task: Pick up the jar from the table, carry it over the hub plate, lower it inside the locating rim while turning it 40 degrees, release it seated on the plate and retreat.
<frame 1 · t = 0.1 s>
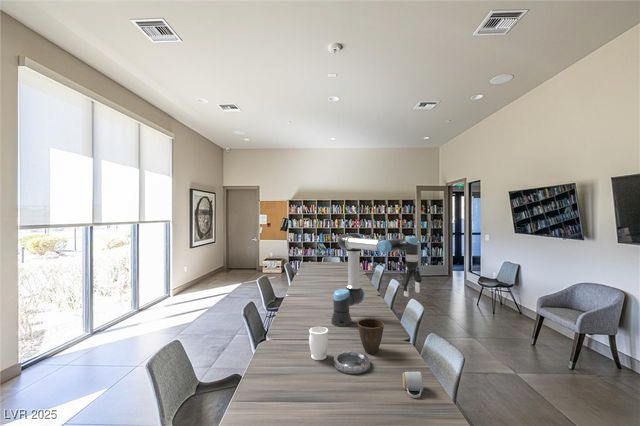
hand: (411, 294, 187), 28 cm above the table, fingers open, 13 cm apart
ceramic mug: (413, 391, 130), on the table
plant pot: (370, 351, 169), on the table
jar: (318, 357, 162), on the table
hub plate: (351, 364, 153), on the table
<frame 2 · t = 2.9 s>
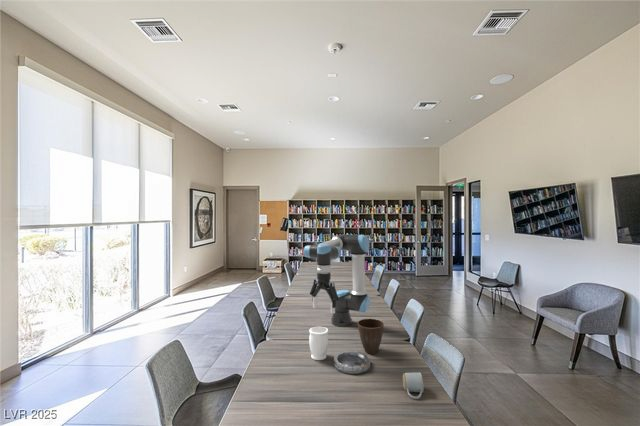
hand: (323, 310, 163), 25 cm above the table, fingers open, 13 cm apart
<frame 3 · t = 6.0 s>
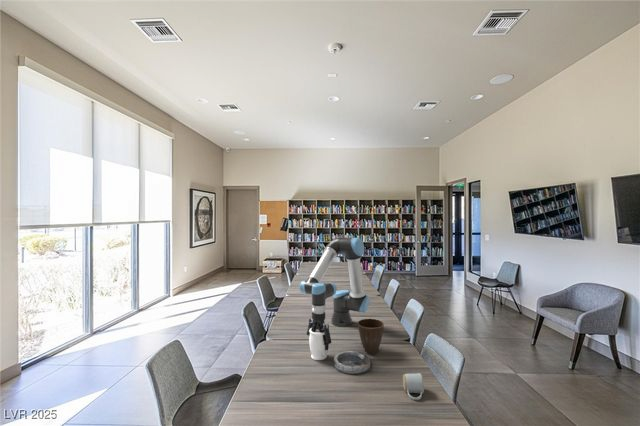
hand: (318, 352, 162), 3 cm above the table, fingers closed on jar, 10 cm apart
jar: (318, 357, 162), on the table, touching gripper
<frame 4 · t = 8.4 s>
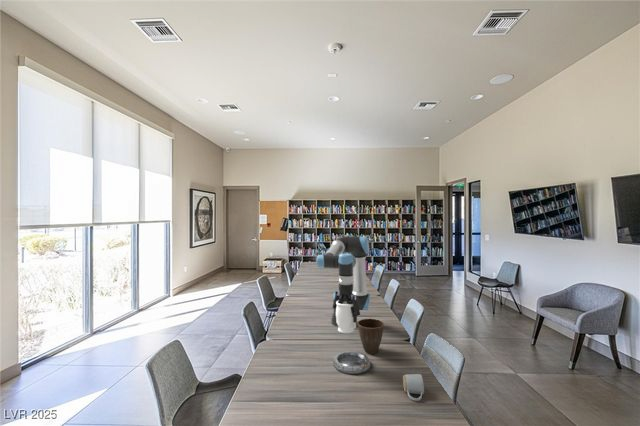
hand: (345, 325, 155), 20 cm above the table, fingers closed on jar, 10 cm apart
jar: (345, 330, 155), point 17 cm above the table, touching gripper
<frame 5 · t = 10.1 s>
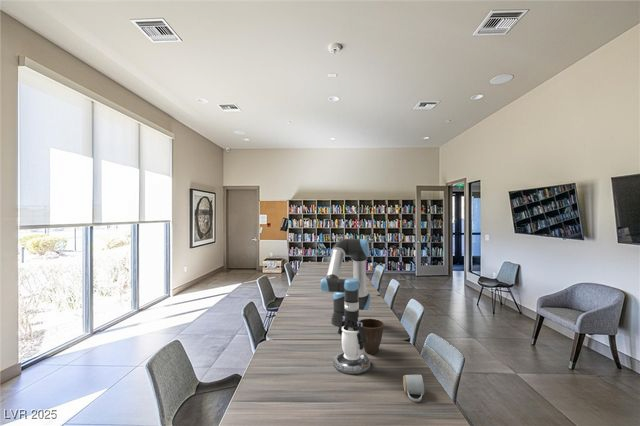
hand: (351, 351, 153), 7 cm above the table, fingers closed on jar, 10 cm apart
jar: (351, 357, 153), point 4 cm above the table, touching gripper
when the fingers open (5 cm above the table, at t = 11.2 s): jar moves 1 cm, resting on hub plate.
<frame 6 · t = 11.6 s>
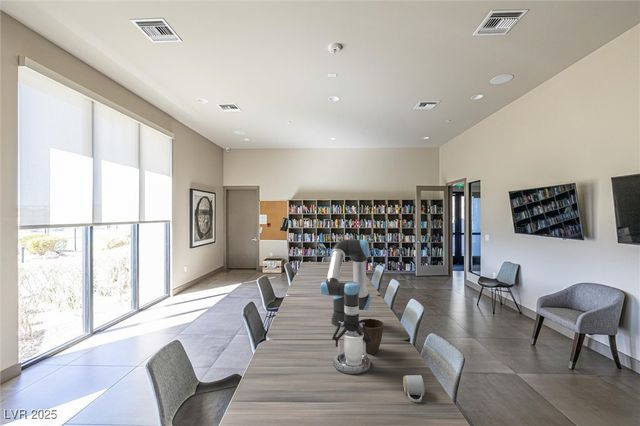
hand: (351, 353, 153), 6 cm above the table, fingers open, 13 cm apart
jar: (353, 362, 153), point 1 cm above the table, touching hub plate
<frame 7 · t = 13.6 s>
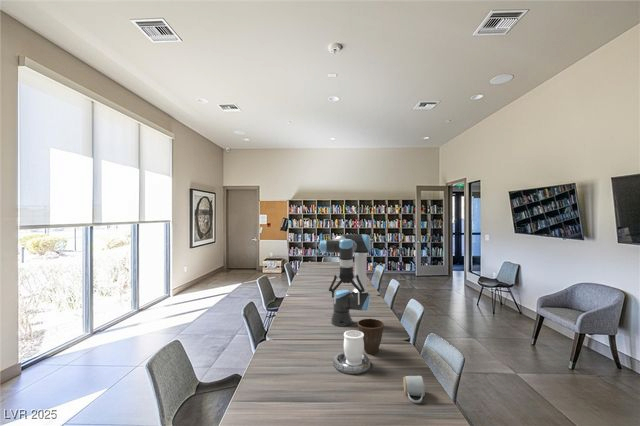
hand: (346, 303, 167), 28 cm above the table, fingers open, 13 cm apart
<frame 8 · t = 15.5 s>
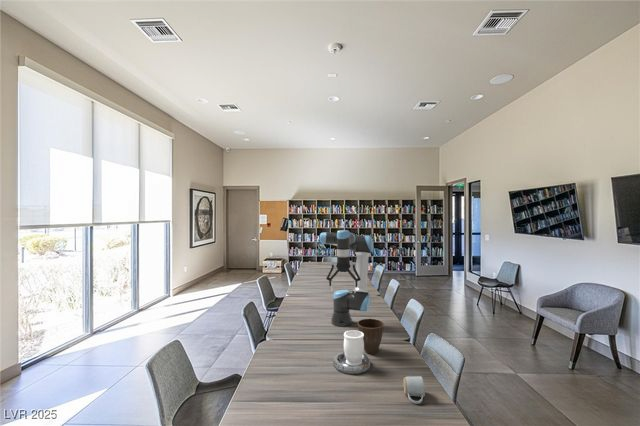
hand: (343, 292, 174), 33 cm above the table, fingers open, 13 cm apart
at the end: jar 1.1 cm from the hub plate (horizontally); jar tilted 0°; the gripper is holding nothing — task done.
